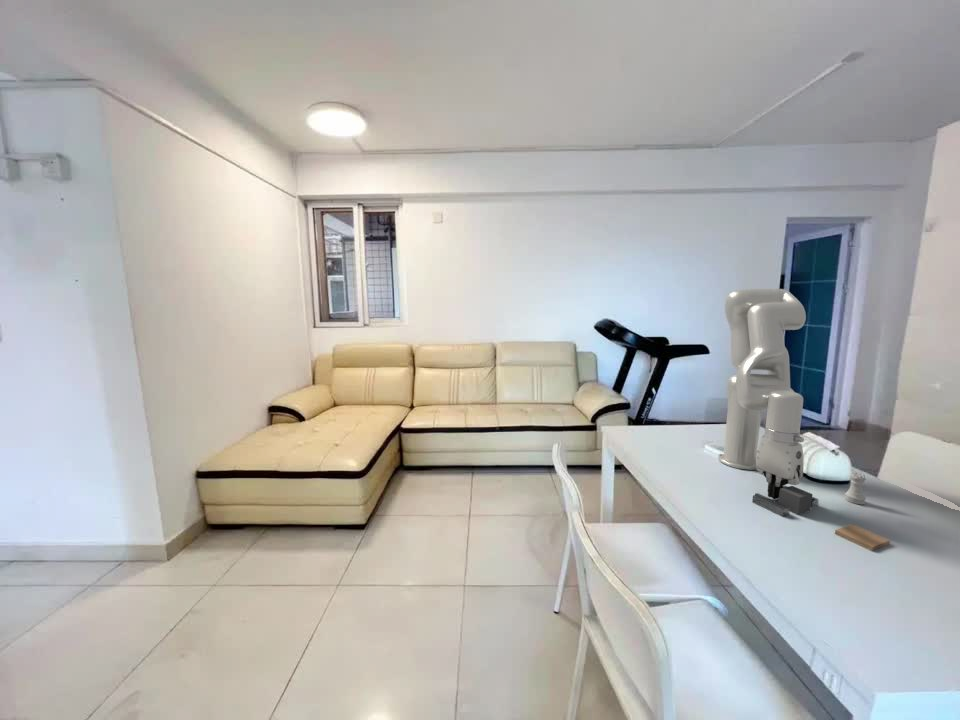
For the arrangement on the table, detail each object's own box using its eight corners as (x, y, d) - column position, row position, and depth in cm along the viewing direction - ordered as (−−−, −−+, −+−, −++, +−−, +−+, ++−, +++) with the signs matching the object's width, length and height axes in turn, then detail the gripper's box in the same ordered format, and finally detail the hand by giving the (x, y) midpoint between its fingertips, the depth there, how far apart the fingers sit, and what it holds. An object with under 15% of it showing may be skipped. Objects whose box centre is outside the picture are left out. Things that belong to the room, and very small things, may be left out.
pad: (852, 527, 96) (852, 524, 96) (889, 544, 90) (890, 540, 90) (834, 533, 94) (835, 530, 94) (871, 551, 88) (872, 547, 87)
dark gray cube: (790, 502, 109) (792, 485, 108) (810, 511, 104) (812, 494, 103) (777, 505, 107) (779, 488, 106) (797, 514, 102) (800, 497, 102)
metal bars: (786, 492, 114) (787, 485, 114) (817, 506, 107) (818, 498, 106) (752, 502, 109) (753, 494, 109) (782, 516, 102) (783, 508, 101)
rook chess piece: (861, 499, 110) (865, 472, 109) (868, 506, 106) (873, 479, 105) (840, 495, 112) (844, 469, 111) (847, 503, 108) (851, 476, 107)
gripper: (821, 442, 102) (812, 507, 104) (763, 425, 116) (757, 483, 118) (802, 446, 99) (794, 512, 102) (745, 428, 113) (739, 487, 116)
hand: (774, 496), depth 110 cm, fingers closed
